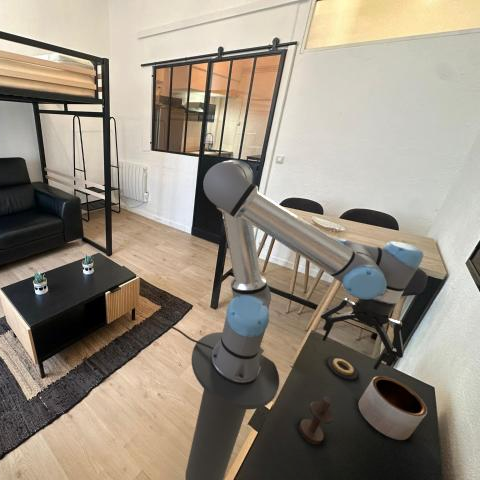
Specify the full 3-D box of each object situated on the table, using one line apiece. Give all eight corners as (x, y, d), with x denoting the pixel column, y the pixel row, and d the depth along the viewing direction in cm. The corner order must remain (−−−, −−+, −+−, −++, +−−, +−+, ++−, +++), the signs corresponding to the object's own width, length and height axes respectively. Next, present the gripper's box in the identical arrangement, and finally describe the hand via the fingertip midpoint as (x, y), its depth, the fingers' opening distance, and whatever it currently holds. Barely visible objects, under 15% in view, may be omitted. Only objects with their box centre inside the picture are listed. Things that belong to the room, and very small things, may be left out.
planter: (414, 451, 60) (434, 427, 57) (359, 424, 65) (375, 400, 61) (403, 413, 69) (420, 389, 65) (355, 391, 74) (369, 368, 70)
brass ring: (330, 366, 81) (331, 364, 80) (335, 357, 84) (336, 355, 84) (350, 378, 77) (351, 376, 77) (354, 368, 81) (355, 366, 80)
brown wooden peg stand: (296, 432, 62) (312, 398, 57) (303, 418, 66) (318, 385, 61) (318, 449, 59) (337, 416, 54) (324, 434, 62) (342, 401, 57)
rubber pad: (324, 367, 81) (324, 366, 81) (331, 354, 86) (331, 353, 86) (353, 385, 76) (354, 383, 76) (359, 370, 81) (359, 368, 81)
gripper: (325, 280, 75) (302, 333, 84) (442, 328, 59) (399, 388, 68) (332, 272, 80) (309, 323, 89) (442, 315, 64) (401, 372, 73)
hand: (348, 352), depth 78 cm, fingers open, 13 cm apart
